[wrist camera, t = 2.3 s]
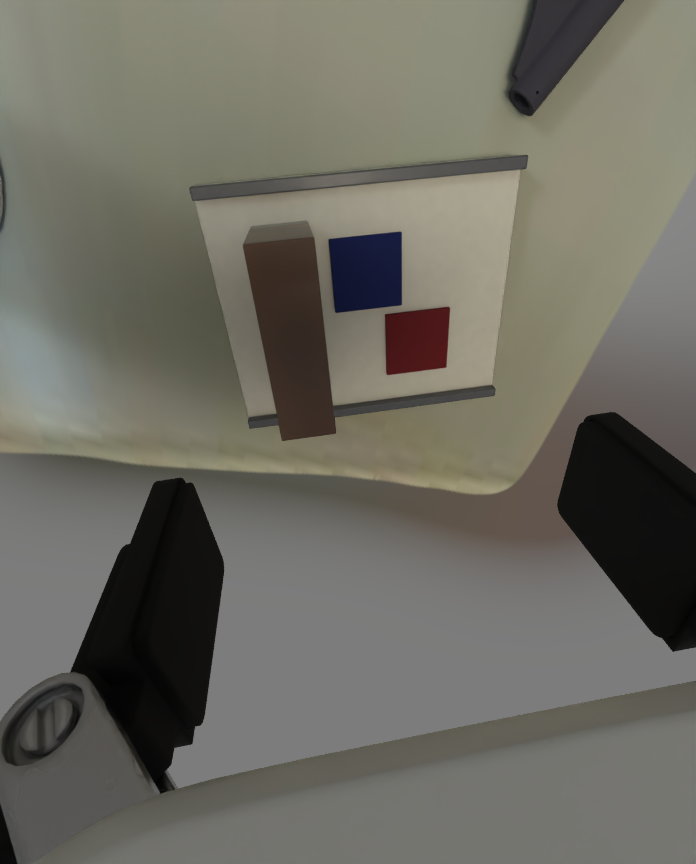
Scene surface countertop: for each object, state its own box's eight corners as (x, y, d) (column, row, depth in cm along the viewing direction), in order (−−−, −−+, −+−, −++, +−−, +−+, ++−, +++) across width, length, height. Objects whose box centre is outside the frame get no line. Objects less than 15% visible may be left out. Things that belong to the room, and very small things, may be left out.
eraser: (282, 393, 27) (282, 441, 23) (250, 226, 22) (242, 244, 17) (327, 388, 27) (336, 433, 23) (307, 220, 22) (314, 237, 17)
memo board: (251, 413, 29) (249, 429, 28) (196, 184, 22) (188, 187, 20) (482, 382, 31) (494, 396, 29) (510, 154, 23) (528, 154, 21)
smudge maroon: (386, 373, 27) (387, 375, 27) (384, 314, 25) (385, 315, 25) (445, 366, 28) (446, 367, 27) (448, 306, 25) (450, 308, 25)
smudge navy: (335, 311, 25) (335, 313, 24) (328, 238, 22) (328, 239, 22) (400, 304, 25) (402, 305, 25) (400, 231, 23) (401, 232, 22)
